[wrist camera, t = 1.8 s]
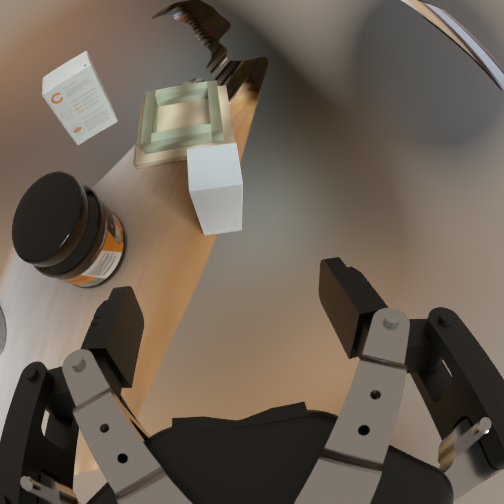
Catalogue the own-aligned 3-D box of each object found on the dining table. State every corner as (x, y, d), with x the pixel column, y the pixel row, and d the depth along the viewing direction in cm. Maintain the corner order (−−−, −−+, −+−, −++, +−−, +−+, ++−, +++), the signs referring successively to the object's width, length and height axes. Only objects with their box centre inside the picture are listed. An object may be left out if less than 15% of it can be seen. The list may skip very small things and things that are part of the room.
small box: (111, 103, 39) (87, 49, 26) (118, 122, 38) (91, 64, 25) (72, 125, 38) (42, 77, 25) (77, 147, 36) (41, 95, 24)
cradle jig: (136, 168, 35) (128, 154, 32) (143, 103, 39) (138, 88, 35) (236, 153, 36) (235, 137, 33) (226, 89, 40) (225, 74, 37)
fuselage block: (204, 235, 33) (189, 191, 22) (201, 201, 34) (186, 149, 23) (241, 230, 33) (242, 184, 23) (236, 197, 34) (236, 142, 24)
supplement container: (132, 285, 31) (81, 259, 19) (64, 294, 30) (3, 275, 18) (129, 205, 34) (90, 153, 22) (65, 220, 33) (16, 181, 21)
